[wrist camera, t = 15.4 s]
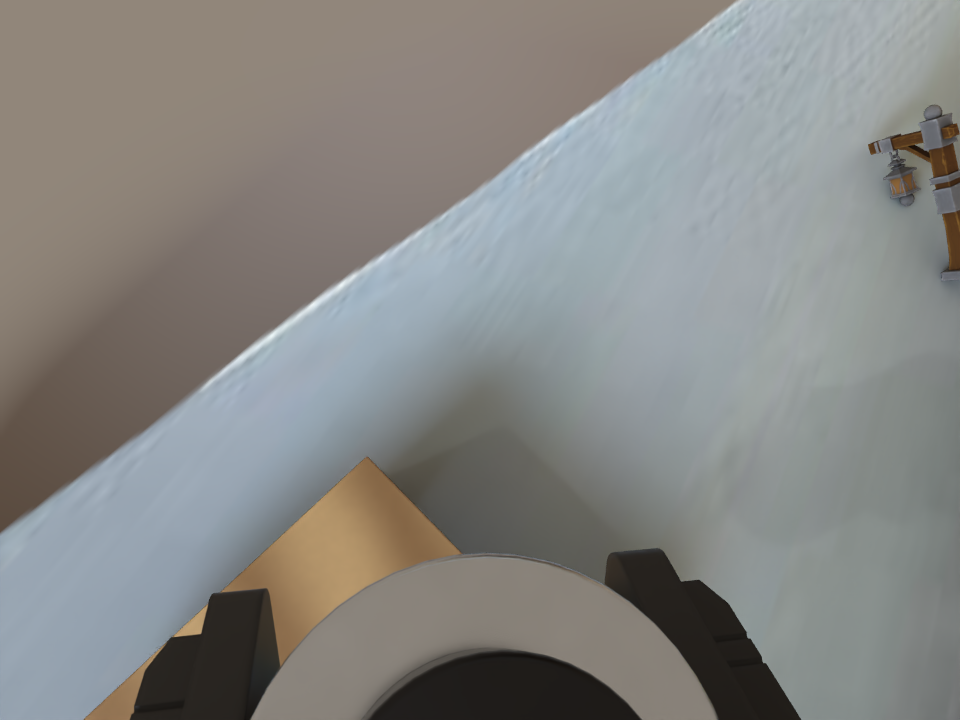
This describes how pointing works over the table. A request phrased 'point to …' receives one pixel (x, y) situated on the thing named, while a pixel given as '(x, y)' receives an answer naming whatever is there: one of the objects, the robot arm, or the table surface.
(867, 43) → the table surface
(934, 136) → the lantern post
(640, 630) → the silver teal canister
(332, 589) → the stand
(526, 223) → the table surface
